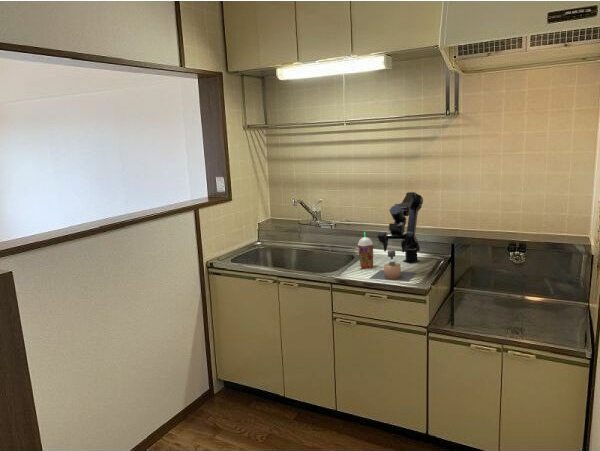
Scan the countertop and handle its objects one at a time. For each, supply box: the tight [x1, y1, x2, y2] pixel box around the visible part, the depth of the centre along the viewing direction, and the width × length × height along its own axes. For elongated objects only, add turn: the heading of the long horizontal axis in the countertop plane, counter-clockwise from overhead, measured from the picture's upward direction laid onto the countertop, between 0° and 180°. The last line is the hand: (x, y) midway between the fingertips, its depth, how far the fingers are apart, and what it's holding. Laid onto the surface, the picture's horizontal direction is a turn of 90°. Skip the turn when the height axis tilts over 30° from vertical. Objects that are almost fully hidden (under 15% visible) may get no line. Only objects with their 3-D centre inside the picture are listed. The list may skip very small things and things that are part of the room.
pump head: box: [387, 249, 396, 260], centre depth 220 cm, size 6×4×4 cm, turn 151°
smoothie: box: [357, 231, 374, 270], centre depth 244 cm, size 8×8×20 cm
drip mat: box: [368, 269, 419, 282], centre depth 225 cm, size 20×16×1 cm
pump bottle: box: [383, 261, 402, 279], centre depth 222 cm, size 8×8×7 cm
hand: (393, 251), depth 223 cm, fingers open, 9 cm apart
